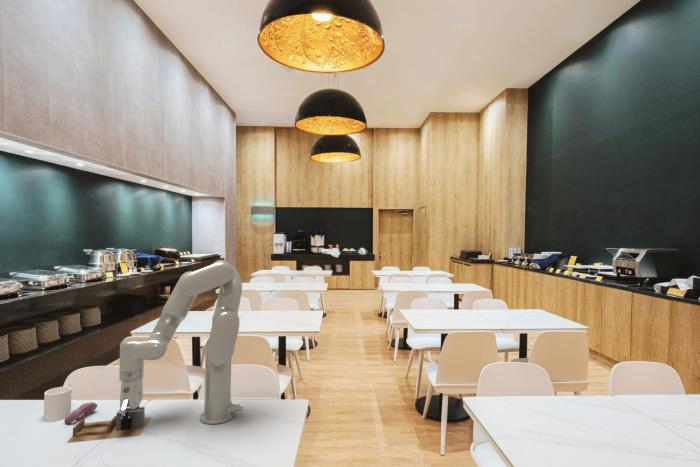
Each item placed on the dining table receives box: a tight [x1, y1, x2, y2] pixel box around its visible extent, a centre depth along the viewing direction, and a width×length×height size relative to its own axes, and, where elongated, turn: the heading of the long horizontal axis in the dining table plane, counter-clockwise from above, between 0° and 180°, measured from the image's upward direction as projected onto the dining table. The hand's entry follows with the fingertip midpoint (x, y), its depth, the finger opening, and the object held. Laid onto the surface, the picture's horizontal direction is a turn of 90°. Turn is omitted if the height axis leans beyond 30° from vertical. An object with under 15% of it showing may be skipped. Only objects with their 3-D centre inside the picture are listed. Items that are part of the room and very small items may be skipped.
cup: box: [43, 383, 73, 423], centre depth 147 cm, size 8×12×10 cm
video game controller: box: [64, 401, 98, 425], centre depth 143 cm, size 10×5×7 cm, turn 169°
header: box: [65, 415, 152, 444], centre depth 134 cm, size 22×14×4 cm, turn 103°
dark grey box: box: [115, 406, 146, 431], centre depth 135 cm, size 8×4×6 cm, turn 103°
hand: (130, 423), depth 135 cm, fingers open, 8 cm apart
